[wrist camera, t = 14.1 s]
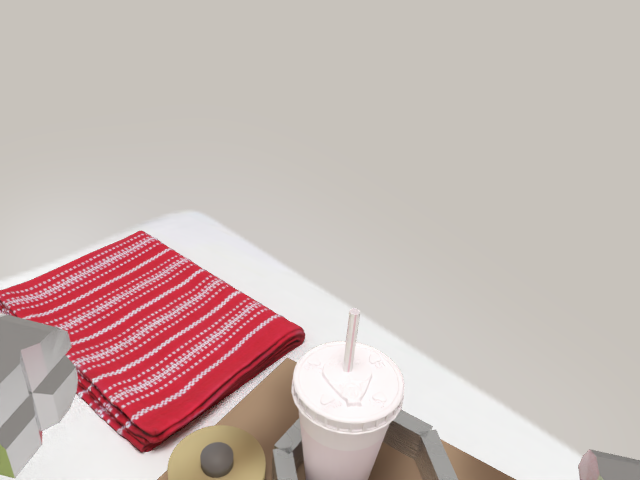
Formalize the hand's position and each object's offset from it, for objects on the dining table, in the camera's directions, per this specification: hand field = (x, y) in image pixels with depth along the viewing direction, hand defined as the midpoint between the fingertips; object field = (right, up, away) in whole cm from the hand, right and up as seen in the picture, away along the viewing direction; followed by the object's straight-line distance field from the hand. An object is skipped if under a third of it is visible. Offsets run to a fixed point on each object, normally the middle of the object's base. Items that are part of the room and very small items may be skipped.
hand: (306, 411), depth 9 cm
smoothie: (+1, -13, +30) cm, 32 cm away
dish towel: (-15, -5, +43) cm, 46 cm away
